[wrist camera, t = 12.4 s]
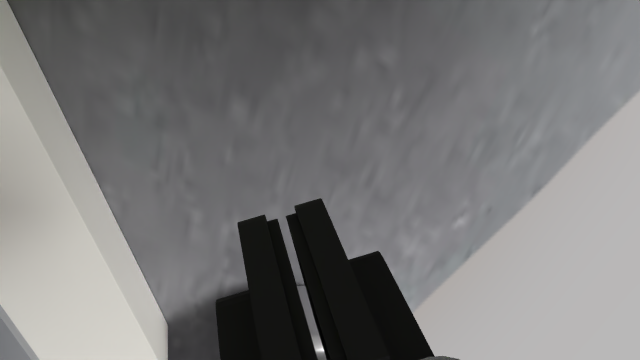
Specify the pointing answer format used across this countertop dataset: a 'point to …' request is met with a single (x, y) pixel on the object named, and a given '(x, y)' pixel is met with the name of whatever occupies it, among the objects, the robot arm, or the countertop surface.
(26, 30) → the countertop surface
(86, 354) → the breaker panel
